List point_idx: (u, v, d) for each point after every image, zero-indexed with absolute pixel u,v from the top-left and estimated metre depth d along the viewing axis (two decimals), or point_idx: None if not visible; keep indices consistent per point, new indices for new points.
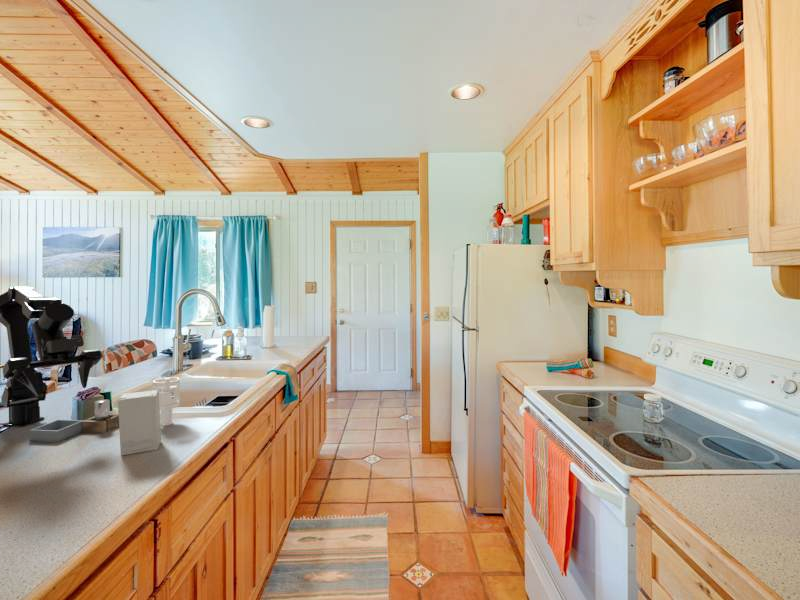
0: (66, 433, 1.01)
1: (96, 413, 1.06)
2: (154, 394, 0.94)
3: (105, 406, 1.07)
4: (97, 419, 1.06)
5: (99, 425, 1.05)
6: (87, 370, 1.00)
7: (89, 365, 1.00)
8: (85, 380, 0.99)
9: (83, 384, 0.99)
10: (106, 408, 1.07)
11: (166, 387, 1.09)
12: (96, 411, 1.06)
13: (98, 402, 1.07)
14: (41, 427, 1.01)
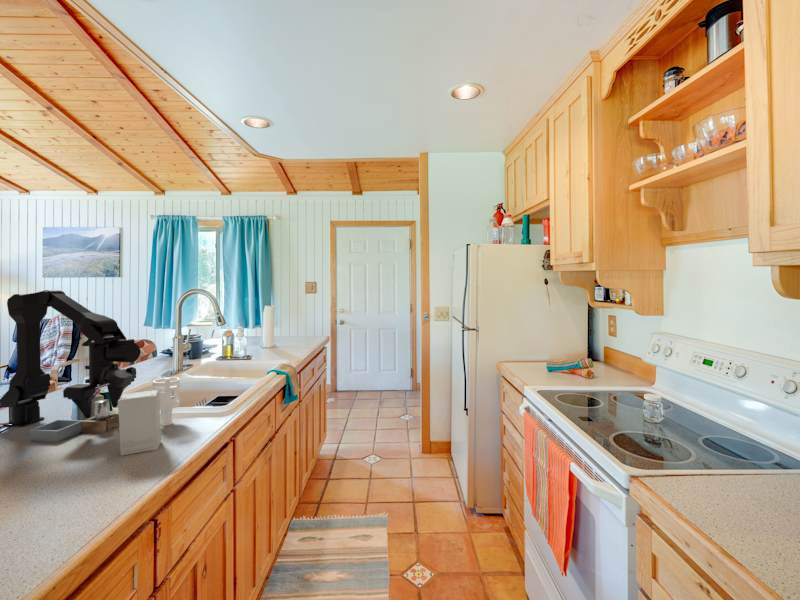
0: (66, 433, 1.01)
1: (96, 413, 1.06)
2: (154, 394, 0.94)
3: (105, 406, 1.07)
4: (97, 419, 1.06)
5: (99, 425, 1.05)
6: (121, 392, 1.13)
7: (124, 388, 1.14)
8: (117, 401, 1.13)
9: (114, 404, 1.12)
10: (106, 408, 1.07)
11: (166, 387, 1.09)
12: (96, 411, 1.06)
13: (98, 402, 1.07)
14: (41, 427, 1.01)
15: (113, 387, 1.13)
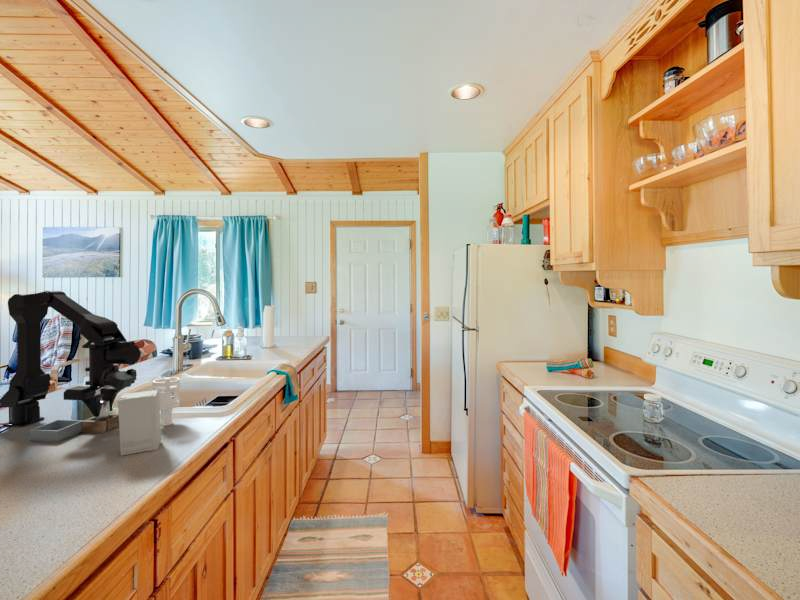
0: (66, 433, 1.01)
1: None
2: (154, 394, 0.94)
3: (105, 406, 1.07)
4: (97, 419, 1.06)
5: (99, 425, 1.05)
6: (114, 397, 1.11)
7: (117, 392, 1.11)
8: (110, 406, 1.10)
9: None
10: (106, 408, 1.07)
11: (166, 387, 1.09)
12: None
13: None
14: (41, 427, 1.01)
15: (106, 391, 1.10)
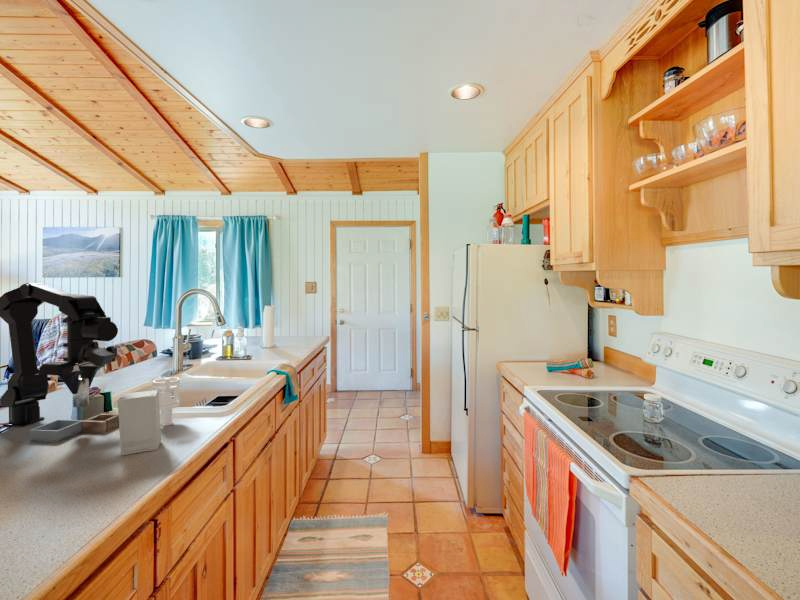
0: (66, 433, 1.01)
1: None
2: (154, 394, 0.94)
3: (84, 383, 1.04)
4: (75, 396, 1.03)
5: (99, 425, 1.05)
6: (93, 374, 1.08)
7: (96, 370, 1.08)
8: (90, 384, 1.07)
9: None
10: (84, 385, 1.04)
11: (166, 387, 1.09)
12: None
13: None
14: (41, 427, 1.01)
15: (85, 369, 1.07)
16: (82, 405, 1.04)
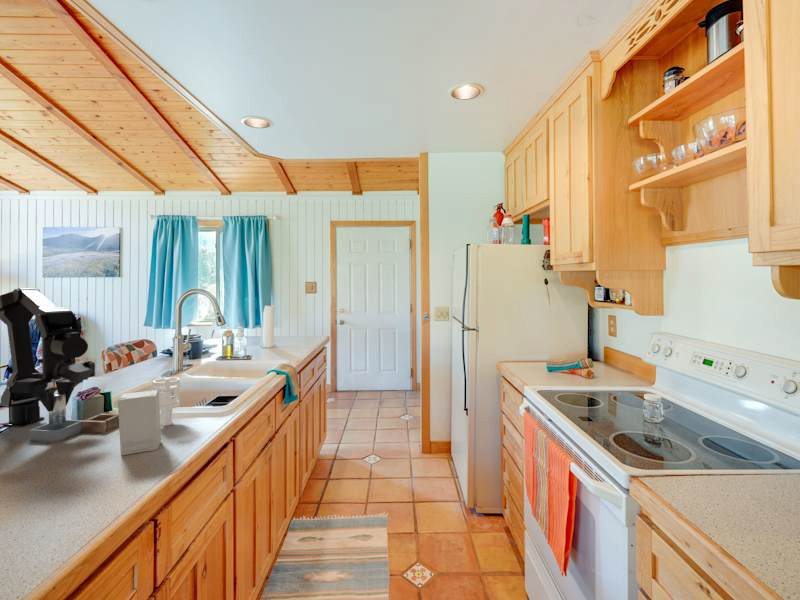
0: (66, 433, 1.01)
1: None
2: (154, 394, 0.94)
3: (60, 399, 1.01)
4: (51, 414, 1.00)
5: (99, 425, 1.05)
6: (71, 390, 1.05)
7: (74, 386, 1.05)
8: (67, 400, 1.04)
9: None
10: (61, 402, 1.01)
11: (166, 387, 1.09)
12: None
13: None
14: (41, 427, 1.01)
15: (62, 385, 1.04)
16: (58, 423, 1.01)
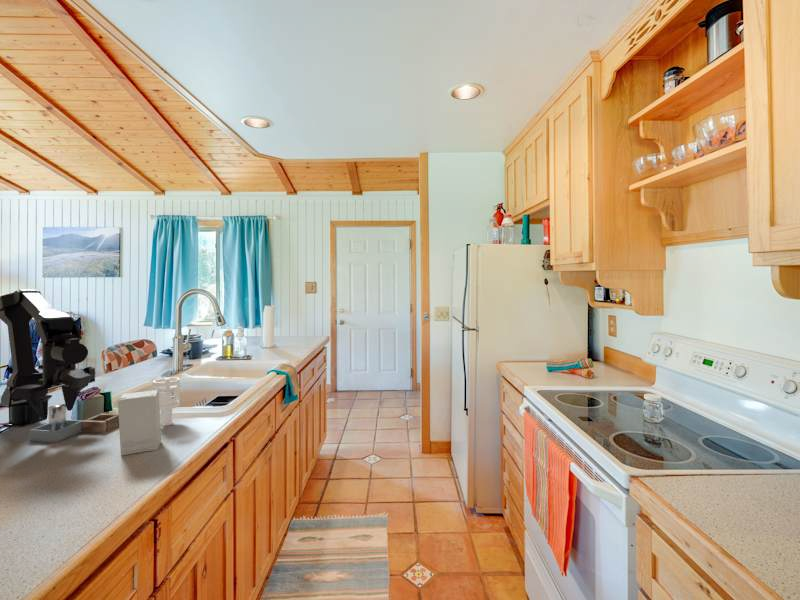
0: (66, 433, 1.01)
1: (50, 418, 1.00)
2: (154, 394, 0.94)
3: (60, 411, 1.01)
4: (51, 425, 1.00)
5: (99, 425, 1.05)
6: (77, 394, 1.06)
7: (80, 390, 1.07)
8: (72, 404, 1.06)
9: (68, 406, 1.05)
10: (61, 413, 1.01)
11: (166, 387, 1.09)
12: (50, 416, 1.00)
13: (52, 407, 1.01)
14: (41, 427, 1.01)
15: (68, 389, 1.06)
16: None
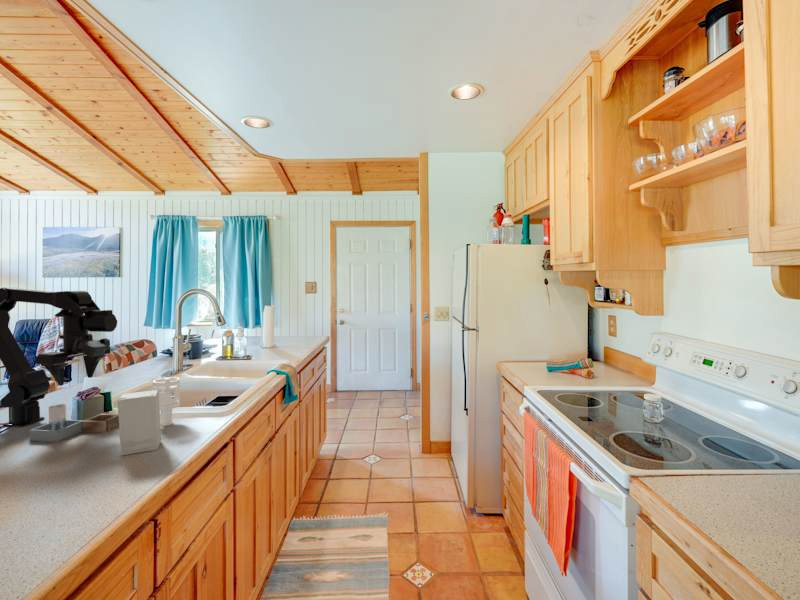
0: (66, 433, 1.01)
1: (50, 418, 1.00)
2: (154, 394, 0.94)
3: (60, 411, 1.01)
4: (51, 425, 1.00)
5: (99, 425, 1.05)
6: (96, 363, 1.17)
7: (99, 359, 1.18)
8: (93, 372, 1.16)
9: (89, 374, 1.16)
10: (61, 413, 1.01)
11: (166, 387, 1.09)
12: (50, 416, 1.00)
13: (52, 407, 1.01)
14: (41, 427, 1.01)
15: (89, 358, 1.17)
16: None
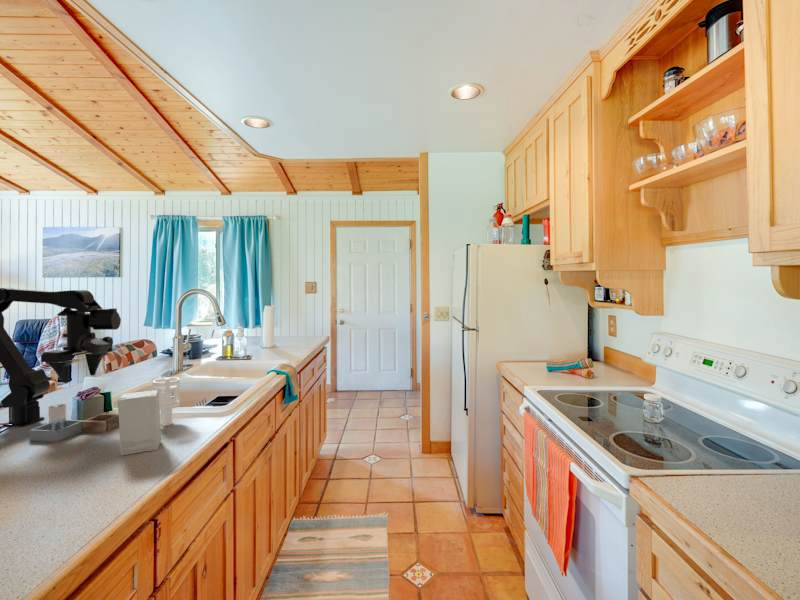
0: (66, 433, 1.01)
1: (50, 418, 1.00)
2: (154, 394, 0.94)
3: (60, 411, 1.01)
4: (51, 425, 1.00)
5: (99, 425, 1.05)
6: (99, 361, 1.19)
7: (101, 357, 1.20)
8: (95, 370, 1.18)
9: (91, 372, 1.18)
10: (61, 413, 1.01)
11: (166, 387, 1.09)
12: (50, 416, 1.00)
13: (52, 407, 1.01)
14: (41, 427, 1.01)
15: (91, 356, 1.19)
16: None
